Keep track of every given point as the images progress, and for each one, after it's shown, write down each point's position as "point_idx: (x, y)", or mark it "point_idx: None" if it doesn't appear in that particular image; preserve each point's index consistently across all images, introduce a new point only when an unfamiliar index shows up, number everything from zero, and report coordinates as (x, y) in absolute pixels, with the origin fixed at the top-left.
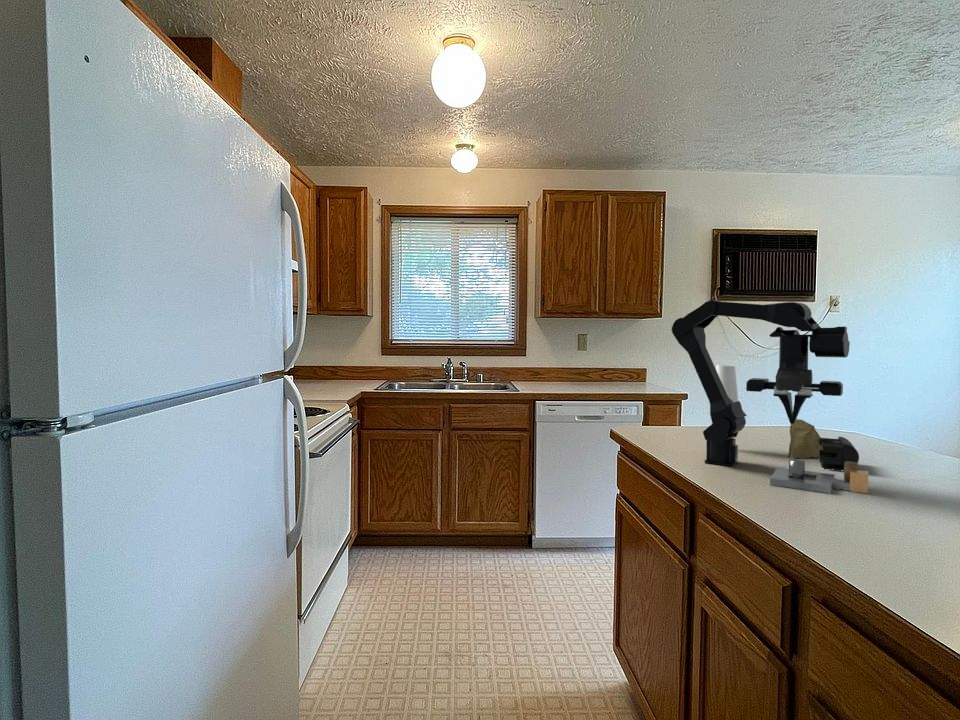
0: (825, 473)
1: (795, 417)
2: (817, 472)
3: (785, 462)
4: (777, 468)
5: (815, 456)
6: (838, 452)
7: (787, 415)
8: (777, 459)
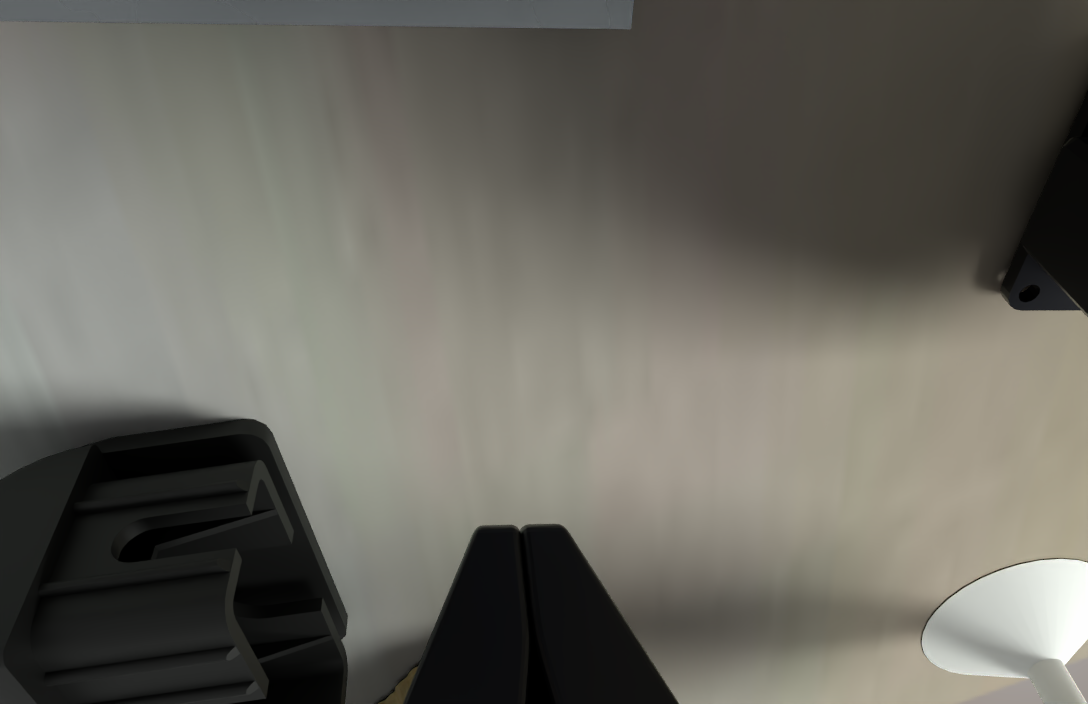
0: (83, 15)
1: (442, 644)
2: (175, 15)
3: (576, 476)
4: None
5: (393, 696)
6: (92, 573)
7: (658, 674)
8: (641, 530)
